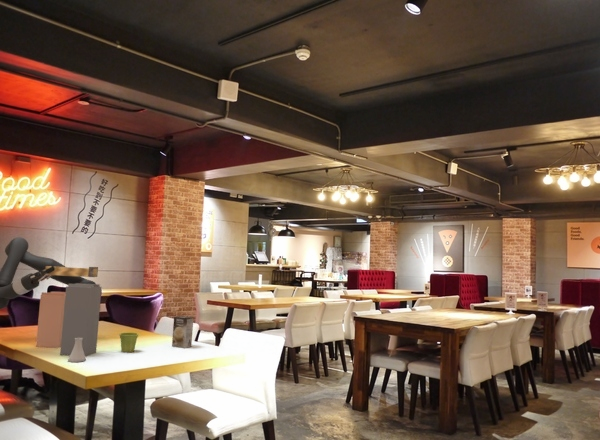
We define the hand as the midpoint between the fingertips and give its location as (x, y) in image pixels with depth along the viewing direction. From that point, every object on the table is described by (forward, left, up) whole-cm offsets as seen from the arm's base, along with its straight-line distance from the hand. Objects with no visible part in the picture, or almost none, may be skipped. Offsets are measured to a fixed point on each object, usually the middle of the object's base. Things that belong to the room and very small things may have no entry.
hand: (56, 268), depth 238 cm
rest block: (-8, -17, -40) cm, 44 cm away
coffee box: (-62, +19, -41) cm, 76 cm away
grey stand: (-10, +11, -40) cm, 43 cm away
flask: (-3, +27, -41) cm, 49 cm away
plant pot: (-32, +17, -41) cm, 54 cm away
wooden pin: (-5, +6, -3) cm, 8 cm away
